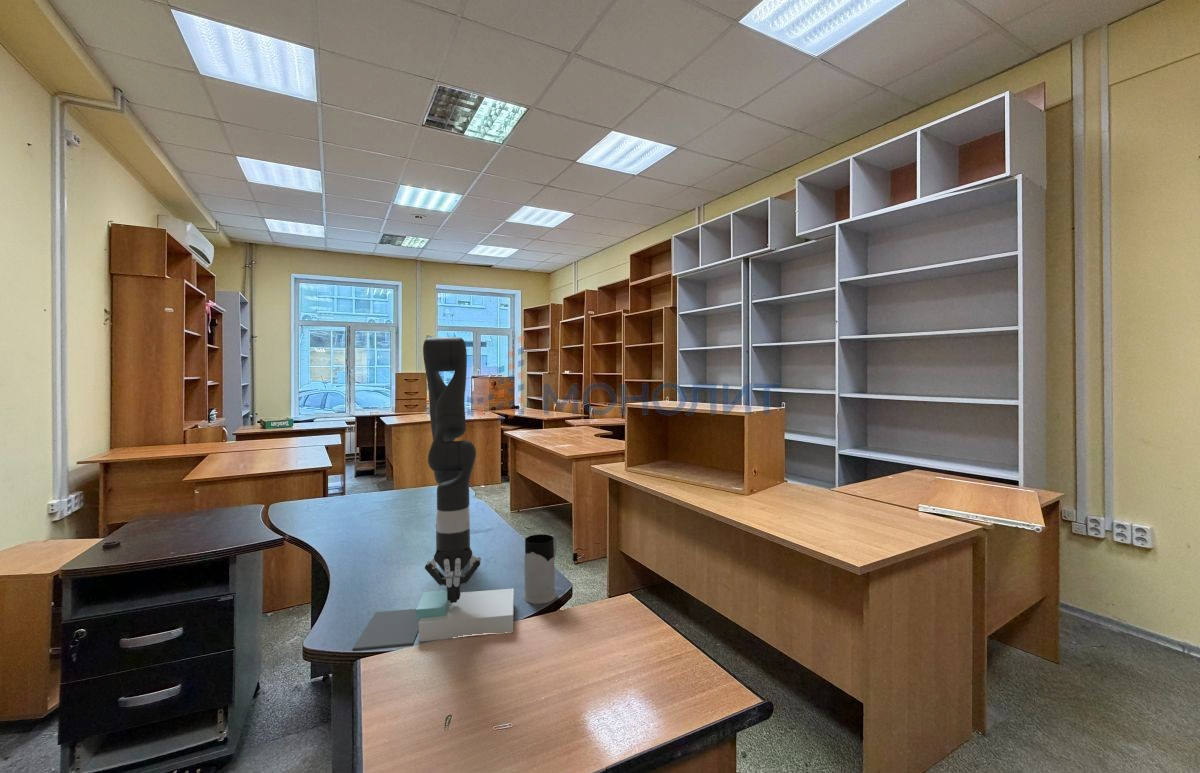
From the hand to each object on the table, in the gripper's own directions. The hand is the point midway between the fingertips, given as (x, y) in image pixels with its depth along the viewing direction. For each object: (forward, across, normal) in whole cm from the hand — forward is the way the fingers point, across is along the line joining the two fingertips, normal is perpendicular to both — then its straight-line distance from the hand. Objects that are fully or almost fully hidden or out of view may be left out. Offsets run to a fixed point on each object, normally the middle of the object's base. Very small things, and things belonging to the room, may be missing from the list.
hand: (453, 601), depth 110 cm
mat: (+5, +13, 0) cm, 14 cm away
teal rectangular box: (+1, +4, 0) cm, 4 cm away
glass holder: (+5, -22, -13) cm, 26 cm away
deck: (+5, -4, 0) cm, 6 cm away
